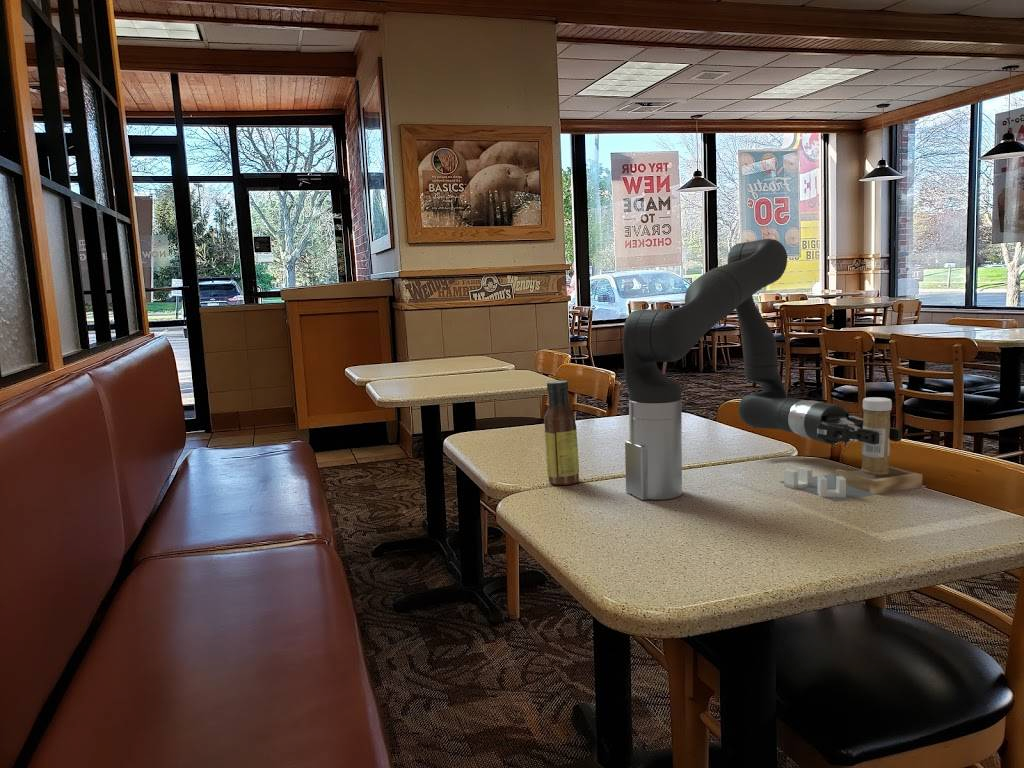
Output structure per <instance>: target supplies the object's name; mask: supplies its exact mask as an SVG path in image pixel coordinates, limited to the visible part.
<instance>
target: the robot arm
mask: <svg viewBox="0 0 1024 768" xmlns="http://www.w3.org/2000/svg"><path fill="white" fill-rule="evenodd" d="M787 266H788V253H787V250H786V248H785V246H784V245H783V244H782V243H781V242H780V241H779V240H776V239H773V238H763V239H757V240H752V241H745V242H741V243H736V244H734V245H733V246H731V248H730V249H729V252H728V255H727V263H726V264H723V265H720V266H717V267H714V268H712V269H710V270H708V271H707V272H705V273H703V274H702V275H700V276H699V277H698V278H695V279H694V280H693V281H692V282H691V283H690V285H688V287H687V289H686V291H685V295H684V304H683V305H681V306H678V307H676V308H669V309H668V308H667V309H666V308H664V309H663V308H662V309H661V308H658V309H657V308H656V309H655V308H654V309H653V308H651V309H636V310H633V311H631V312H630V313H629V315H627V317H626V319H625V322H624V325H623V330H622V351H623V353H622V354H623V365H624V381H625V384H626V388H627V392H628V414H629V415H628V425H629V426H628V427H629V430H628V431H629V433H628V434H629V440H625V441H624V442H625V443H624V452H625V453H624V454H625V460H624V461H625V462H624V463H625V492H626V493H628V494H629V495H631V494H632V495H631V496H634V497H636V498H638V499H640V500H670V499H676V498H678V497H680V496H681V495H682V494H683V467H682V466H683V461H682V460H683V459H682V458H683V456H682V455H683V450H682V449H683V448H682V447H683V445H682V443H683V442H682V440H683V437H682V432H683V431H682V430H683V428H682V424H683V423H682V422H683V421H682V419H683V418H682V417H683V416H682V412H683V411H682V408H683V407H682V387H681V384H680V383H679V382H678V381H677V380H674V379H672V378H670V377H668V376H667V375H665V374H664V373H663V372H661V370H660V369H659V367H658V365H657V363H671V362H676V361H679V360H681V359H682V358H684V357H685V356H686V355H687V354H688V353H689V352H690V351H691V350H692V349H693V348H694V346H696V344H697V343H698V342H699V341H700V340H701V339H702V337H704V335H705V334H706V333H707V332H709V331H710V330H711V329H712V328H713V327H715V326H716V325H717V324H718V323H719V322H721V321H722V320H724V319H725V318H726V317H727V316H729V315H730V314H731V313H732V312H734V311H736V316H737V319H738V325H739V330H740V336H741V342H742V357H743V372H744V377H745V379H746V380H747V381H748V382H753V383H759V385H760V387H761V389H762V392H756V393H749V394H746V395H745V396H744V397H742V398H741V400H739V403H738V406H737V413H738V416H739V417H740V419H741V421H743V423H745V424H746V425H747V426H750V427H752V428H758V429H766V430H767V429H768V430H781V431H784V432H789V433H792V434H796V435H799V436H801V437H803V438H806V439H809V440H810V439H811V440H814V441H818V442H821V443H825V444H828V445H835V444H838V443H841V442H843V443H848V442H854V443H858V442H865V443H869V444H874V445H875V444H879V433H878V432H876V431H872V430H867V429H863V419H864V418H863V417H861V418H860V417H859V416H855V415H850V414H849V412H848V411H847V409H845V407H843V406H842V405H840V404H839V405H838V404H832V403H827V402H822V401H817V400H812V399H811V400H808V399H807V400H805V399H800V398H795V397H788V395H787V391H786V389H785V386H784V383H783V380H782V377H781V375H780V372H779V357H778V355H779V354H778V346H777V345H778V344H777V340H776V338H775V335H774V333H773V330H772V329H771V327H770V326H769V324H768V323H767V321H766V320H765V318H764V317H763V316H762V314H761V313H760V311H759V309H758V308H757V306H756V303H755V301H754V298H753V296H754V295H755V294H756V293H757V292H759V291H760V290H762V289H764V288H767V287H768V286H770V285H771V284H773V283H775V282H777V281H778V280H779V279H781V278H782V277H783V275H784V273H785V271H786V269H787ZM891 426H892V423H891V422H890V436H889V438H890V442H895V443H896V442H901V441H902V434H903V433H902V432H903V431H902V430H901V429H900V428H896V427H891Z"/></svg>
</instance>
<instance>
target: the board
mask: <svg viewBox="0 0 1024 768" xmlns="http://www.w3.org/2000/svg"><path fill="white" fill-rule="evenodd" d="M783 472H784V474H783V475H784V476H783V477H784V479H783V480H781V481H778V483H781V484H784V486H785V487H787V488H790V489H792V490H796V489H798V490H801V491H804V492H808V493H810V494H813V495H815V496H819V497H821V498H824V499H827V500H829V501H833V502H839V501H845V500H846V501H847V500H851V499H852V500H853V499H858V498H867V497H870V496H877V495H883V494H884V495H885V494H889V493H891V494H892V493H896V492H903V491H910V490H917V489H921V488H927V485H924V484H922V487H917V488H911V489H905V490H898V491H892V492H885V493H879V494H873V493H870V492H867V491H864V490H861V489H857V488H854V487H851V486H848V485H846V479H845V478H844V477H843V476H836V482H835V473H830V474H823V475H814V476H813V469H810V468H807V467H804V466H800V467H797V470H794V469H791V468H786V469H784V471H783ZM849 472H853V473H856V474H860V475H863V476H867V477H870V478H874V479H879V478H881V477H877V476H875V475H869V474H866V473H863V472H862V471H861V469H858V470H852V471H849Z"/></svg>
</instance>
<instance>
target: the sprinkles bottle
mask: <svg viewBox="0 0 1024 768" xmlns="http://www.w3.org/2000/svg"><path fill="white" fill-rule="evenodd" d="M892 407H893V402H892V399H891V398H888V397H880V396H879V397H878V396H877V397H876V396H874V397H873V396H872V397H871V396H869V397H864V398H863V400H862V409H863V410H862V411H863V417H862V419H863V429H867V430H872V431H876V432H878V433H879V444H875V445H874V444H869V443H865V442H862V444H861V446H862V447H861V454H862V455H861V456H862V457H861V458H862V461H861V463H862V464H861V468H860V470H861V471H862V472H863V473H866V474H869V475H886V474H888V473H889V466H890V464H889V463H890V452H891V451H890V448H891V446H890V445H891V440H890V438H889V436H890V427H891V426H890V423H891V411H892Z"/></svg>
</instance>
